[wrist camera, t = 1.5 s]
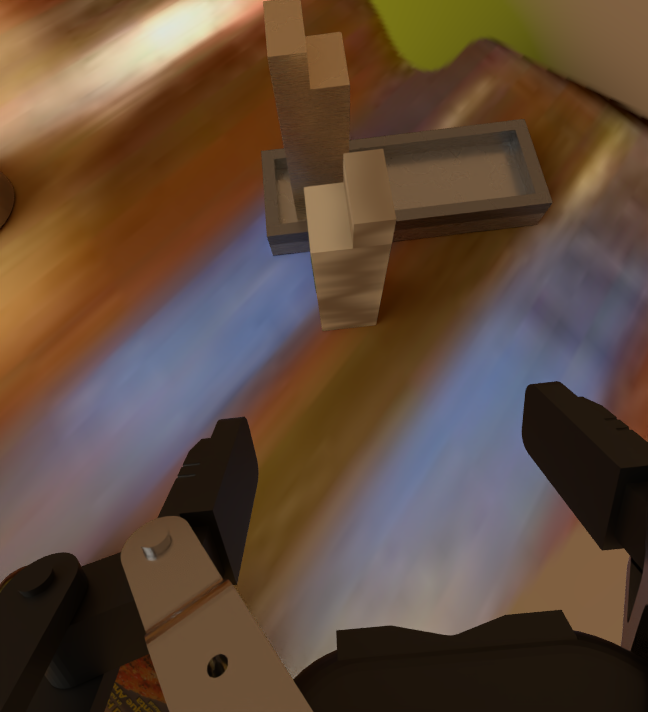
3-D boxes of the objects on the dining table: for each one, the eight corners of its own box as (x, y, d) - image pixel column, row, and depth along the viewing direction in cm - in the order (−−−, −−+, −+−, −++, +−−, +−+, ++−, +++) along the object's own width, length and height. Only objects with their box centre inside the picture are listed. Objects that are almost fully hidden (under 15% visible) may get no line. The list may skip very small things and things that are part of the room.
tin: (242, 719, 24) (190, 840, 16) (206, 771, 23) (132, 925, 15) (78, 548, 27) (-34, 575, 19) (43, 589, 26) (-89, 635, 18)
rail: (273, 255, 33) (221, 93, 19) (267, 175, 36) (218, -19, 22) (536, 224, 33) (674, 36, 19) (511, 145, 35) (617, -71, 22)
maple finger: (321, 331, 31) (306, 230, 19) (316, 283, 32) (298, 158, 20) (376, 325, 31) (396, 219, 18) (368, 277, 32) (383, 148, 20)
